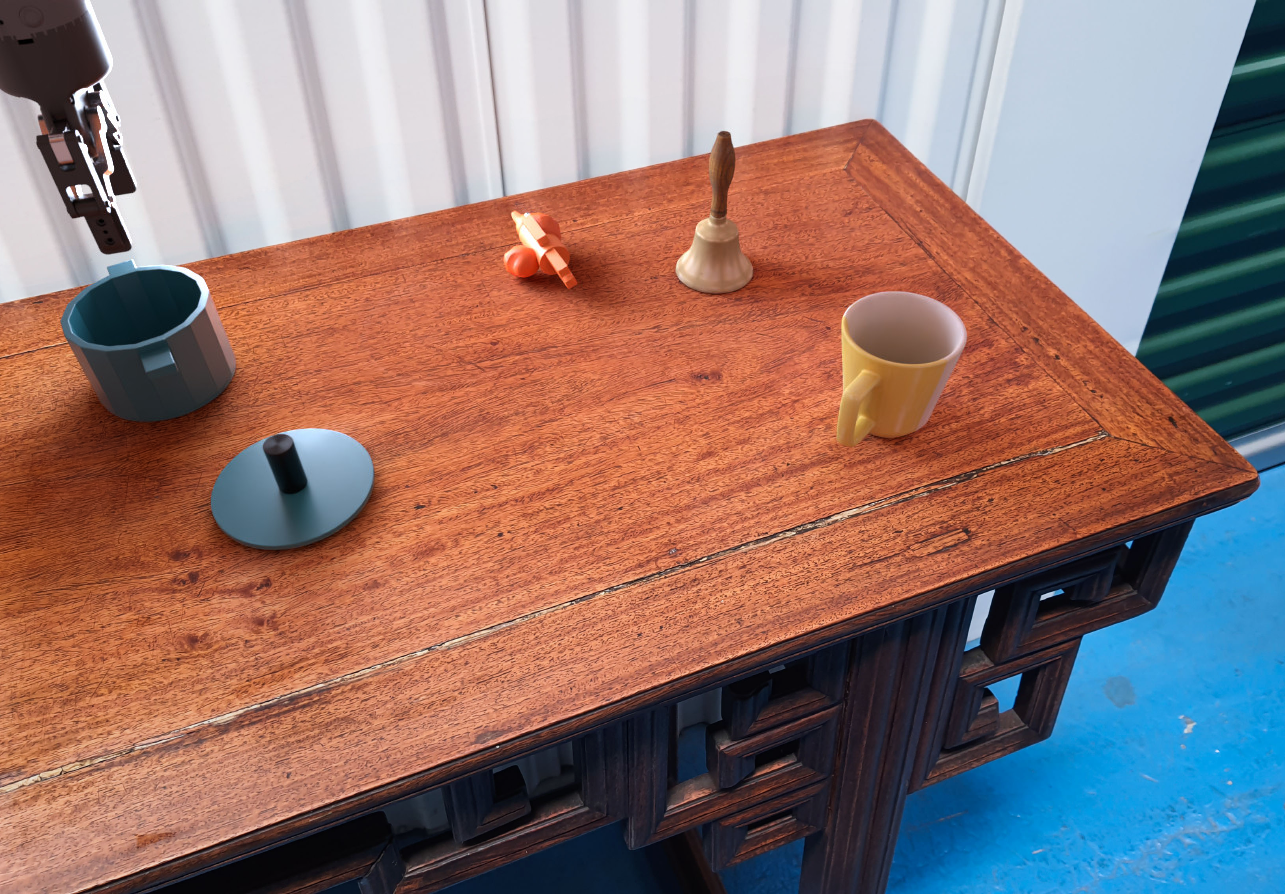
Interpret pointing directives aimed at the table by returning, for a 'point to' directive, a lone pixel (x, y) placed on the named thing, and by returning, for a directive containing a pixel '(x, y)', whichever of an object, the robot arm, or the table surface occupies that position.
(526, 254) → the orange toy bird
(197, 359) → the pot
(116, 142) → the robot arm
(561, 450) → the table surface
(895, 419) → the mug
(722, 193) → the hand bell
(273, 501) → the lid
